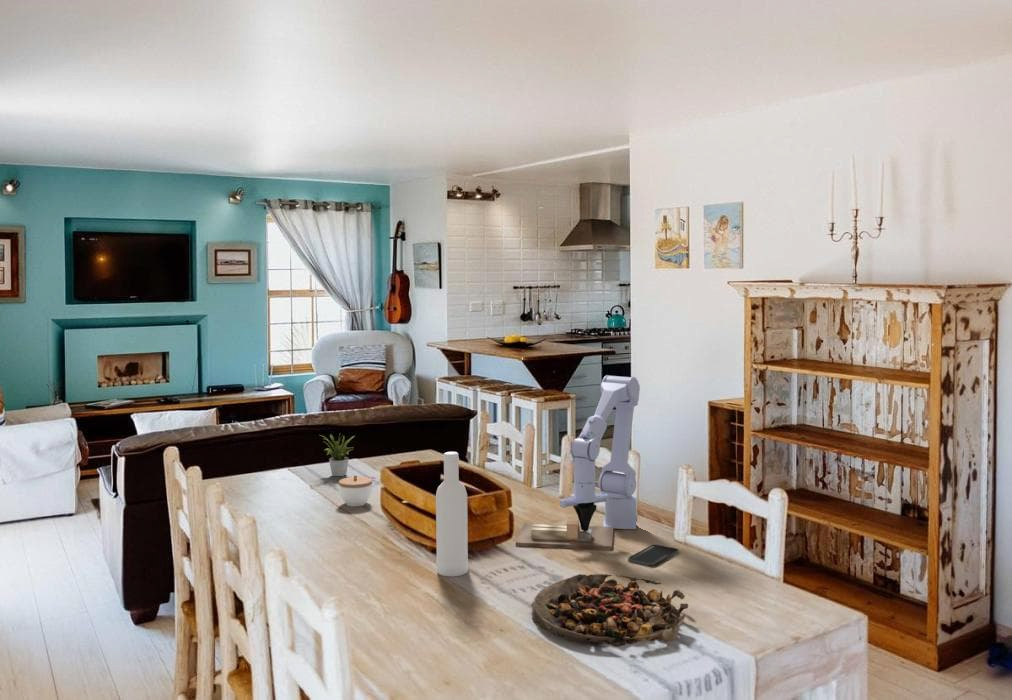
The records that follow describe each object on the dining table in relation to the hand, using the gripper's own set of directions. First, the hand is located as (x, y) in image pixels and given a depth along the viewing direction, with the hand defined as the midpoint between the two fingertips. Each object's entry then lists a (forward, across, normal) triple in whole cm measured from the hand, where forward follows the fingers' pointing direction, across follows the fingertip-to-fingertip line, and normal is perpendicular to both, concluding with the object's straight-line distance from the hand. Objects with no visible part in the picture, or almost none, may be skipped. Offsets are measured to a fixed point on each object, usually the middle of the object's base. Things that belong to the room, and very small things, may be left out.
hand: (584, 529), depth 237 cm
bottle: (+4, +42, +6) cm, 42 cm away
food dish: (+4, +21, +47) cm, 52 cm away
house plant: (+3, +43, -108) cm, 117 cm away
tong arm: (+2, +6, -6) cm, 9 cm away
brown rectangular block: (+2, +3, -2) cm, 4 cm away
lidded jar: (+3, +47, -66) cm, 81 cm away
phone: (+4, -10, +18) cm, 21 cm away
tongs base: (+3, +3, -6) cm, 7 cm away
